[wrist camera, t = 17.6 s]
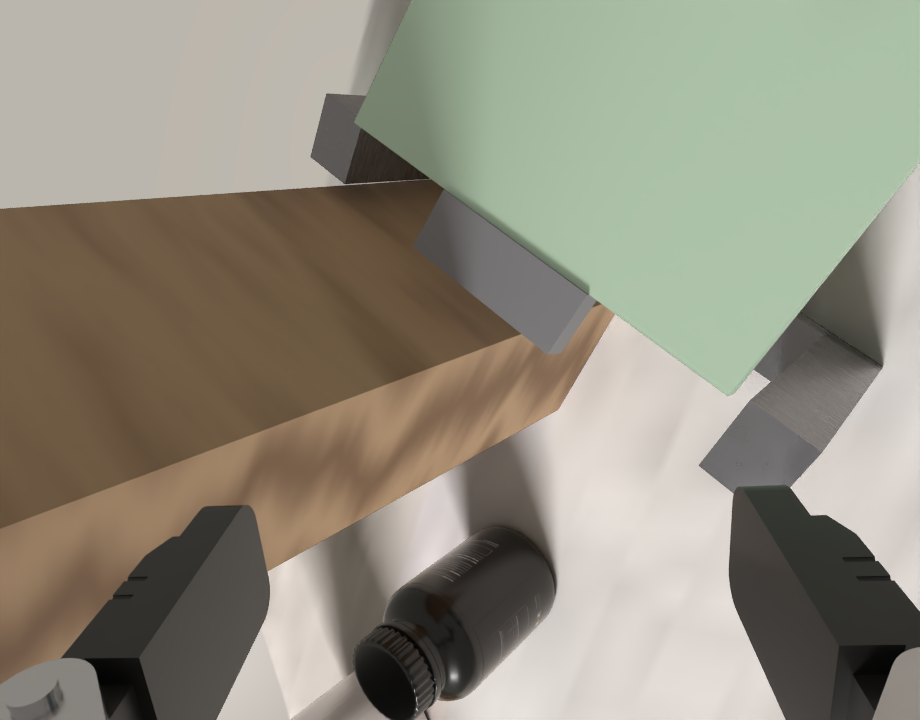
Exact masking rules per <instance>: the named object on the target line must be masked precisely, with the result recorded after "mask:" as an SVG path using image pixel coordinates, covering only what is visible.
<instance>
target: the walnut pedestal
mask: <svg viewBox="0 0 920 720" xmlns="http://www.w3.org/2000/svg"><path fill="white" fill-rule="evenodd" d="M443 189H444V188H443V187H441V186H440V185H439V184H437V183H436V182H434V181H433V180H420V181H405V182H390V183H375V184H361V185H346V186H331V187H317V188H302V189H288V190H274V191H257V192H244V193H228V194H214V195H198V196H184V197H169V198H154V199H139V200H124V201H111V202H95V203H80V204H65V205H51V206H36V207H21V208H7V209H0V685H1V684H2V683H3V682H5V681H6V680H8V679H9V678H11V677H12V676H14V675H16V674H18V673H20V672H21V671H23V670H26V669H28V668H30V667H32V666H35V665H38V664H40V663H43V662H47V661H51V660H56V659H60V658H61V657H62V656H63V655H64V654H65V652H66V651H67V650H68V649H69V647H70V646H71V645H72V644H73V643H74V641H75V640H76V639H77V638H78V637H79V635H80V634H81V633H82V632H83V630H84V629H85V628H86V627H87V626H88V624H89V623H90V622H91V621H92V620H93V618H94V617H95V616H96V615H97V613H98V612H99V611H100V610H101V609H102V607H103V606H104V605H105V604H106V603H107V601H108V600H112V599H113V594H114V593H115V592H116V590H117V589H118V588H119V587H120V586H121V584H122V583H123V582H124V581H127V580H128V576H129V575H130V573H131V572H132V571H133V570H134V569H135V567H136V566H137V565H138V564H139V563H140V561H141V560H142V559H143V558H144V556H145V555H147V554H148V553H150V552H151V551H152V550H154V549H155V548H157V547H158V546H160V545H161V544H162V543H164V542H165V541H167V540H168V539H170V538H171V537H174V536H180V535H181V534H182V532H183V531H184V530H185V529H186V527H187V526H188V525H189V524H190V522H191V521H192V520H193V518H194V517H195V516H196V515H197V513H198V512H199V511H200V510H201V509H202V508H203V507H205V506H226V505H249V506H251V508H252V509H253V511H254V513H255V516H256V520H257V524H258V529H259V534H260V539H261V544H262V549H263V553H264V558H265V563H266V568H267V571H269V570H271V569H273V568H274V567H276V566H278V565H280V564H282V563H283V562H285V561H287V560H289V559H291V558H292V557H294V556H296V555H298V554H300V553H301V552H303V551H305V550H307V549H309V548H310V547H312V546H314V545H316V544H318V543H319V542H321V541H323V540H325V539H327V538H328V537H330V536H332V535H334V534H336V533H337V532H339V531H341V530H343V529H345V528H346V527H348V526H350V525H352V524H354V523H355V522H357V521H359V520H361V519H362V518H364V517H366V516H368V515H370V514H371V513H373V512H375V511H377V510H379V509H380V508H382V507H384V506H386V505H388V504H389V503H391V502H393V501H395V500H397V499H398V498H400V497H402V496H404V495H406V494H407V493H409V492H411V491H413V490H415V489H416V488H418V487H420V486H422V485H424V484H425V483H427V482H429V481H431V480H433V479H434V478H436V477H438V476H440V475H442V474H443V473H445V472H447V471H449V470H451V469H452V468H454V467H456V466H458V465H460V464H461V463H463V462H465V461H467V460H469V459H470V458H472V457H474V456H476V455H478V454H479V453H481V452H483V451H485V450H487V449H488V448H490V447H492V446H494V445H495V444H497V443H499V442H501V441H503V440H504V439H506V438H508V437H510V436H512V435H513V434H515V433H517V432H519V431H521V430H522V429H524V428H526V427H528V426H530V425H531V424H533V423H535V422H537V421H539V420H540V419H542V418H544V417H546V416H548V415H549V414H551V413H553V412H555V411H557V410H558V409H559V407H560V406H561V404H562V402H563V401H564V399H565V397H566V396H567V394H568V392H569V391H570V389H571V387H572V385H573V384H574V382H575V380H576V379H577V377H578V375H579V374H580V372H581V370H582V368H583V367H584V365H585V363H586V362H587V360H588V358H589V357H590V355H591V353H592V352H593V350H594V348H595V346H596V345H597V343H598V341H599V340H600V338H601V336H602V335H603V333H604V331H605V329H606V328H607V326H608V324H609V323H610V321H611V319H612V318H613V316H614V314H615V313H613V312H612V311H610V310H609V309H608V308H606V307H605V306H604V305H602V304H601V303H600V302H598V301H596V302H595V304H594V305H593V307H592V308H591V310H590V311H589V313H588V314H587V316H586V317H585V319H584V320H583V322H582V323H581V325H580V326H579V328H578V329H577V330H576V332H575V333H574V335H573V336H572V338H571V339H570V341H569V342H568V344H567V345H566V347H565V348H564V350H563V351H562V353H557V354H549V355H547V354H546V353H545V352H543V351H542V350H541V349H540V348H538V347H537V346H536V345H535V344H533V343H532V342H531V341H530V340H528V339H527V338H526V337H525V336H523V335H522V334H521V333H520V332H518V331H517V330H516V329H515V328H513V327H512V326H511V325H510V324H508V323H507V322H506V321H505V320H503V319H502V318H501V317H500V316H498V315H497V314H496V313H495V312H493V311H492V310H491V309H490V308H489V307H487V306H486V305H485V304H484V303H482V302H481V301H480V300H479V299H477V298H476V297H475V296H474V295H472V294H471V293H470V292H469V291H467V290H466V289H465V288H464V287H462V286H461V285H460V284H459V283H457V282H456V281H455V280H454V279H452V278H451V277H450V276H449V275H447V274H446V273H445V272H444V271H442V270H441V269H440V268H439V267H437V266H436V265H435V264H434V263H432V262H431V261H430V260H429V259H427V258H426V257H425V256H424V255H422V254H421V253H420V252H419V251H417V250H416V249H415V248H414V247H413V245H414V243H415V242H416V240H417V238H418V236H419V234H420V232H421V230H422V229H423V227H424V225H425V223H426V221H427V219H428V217H429V216H430V214H431V212H432V210H433V208H434V206H435V204H436V203H437V201H438V199H439V197H440V195H441V193H442V191H443ZM444 190H445V189H444Z"/></svg>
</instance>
